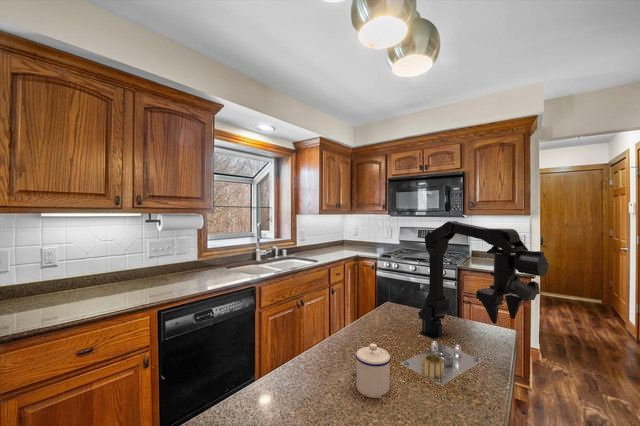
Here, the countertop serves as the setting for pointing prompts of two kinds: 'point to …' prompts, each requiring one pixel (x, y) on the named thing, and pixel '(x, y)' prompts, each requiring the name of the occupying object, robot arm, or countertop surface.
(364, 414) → the countertop surface
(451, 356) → the carrier plate
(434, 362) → the planet gear
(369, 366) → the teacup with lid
